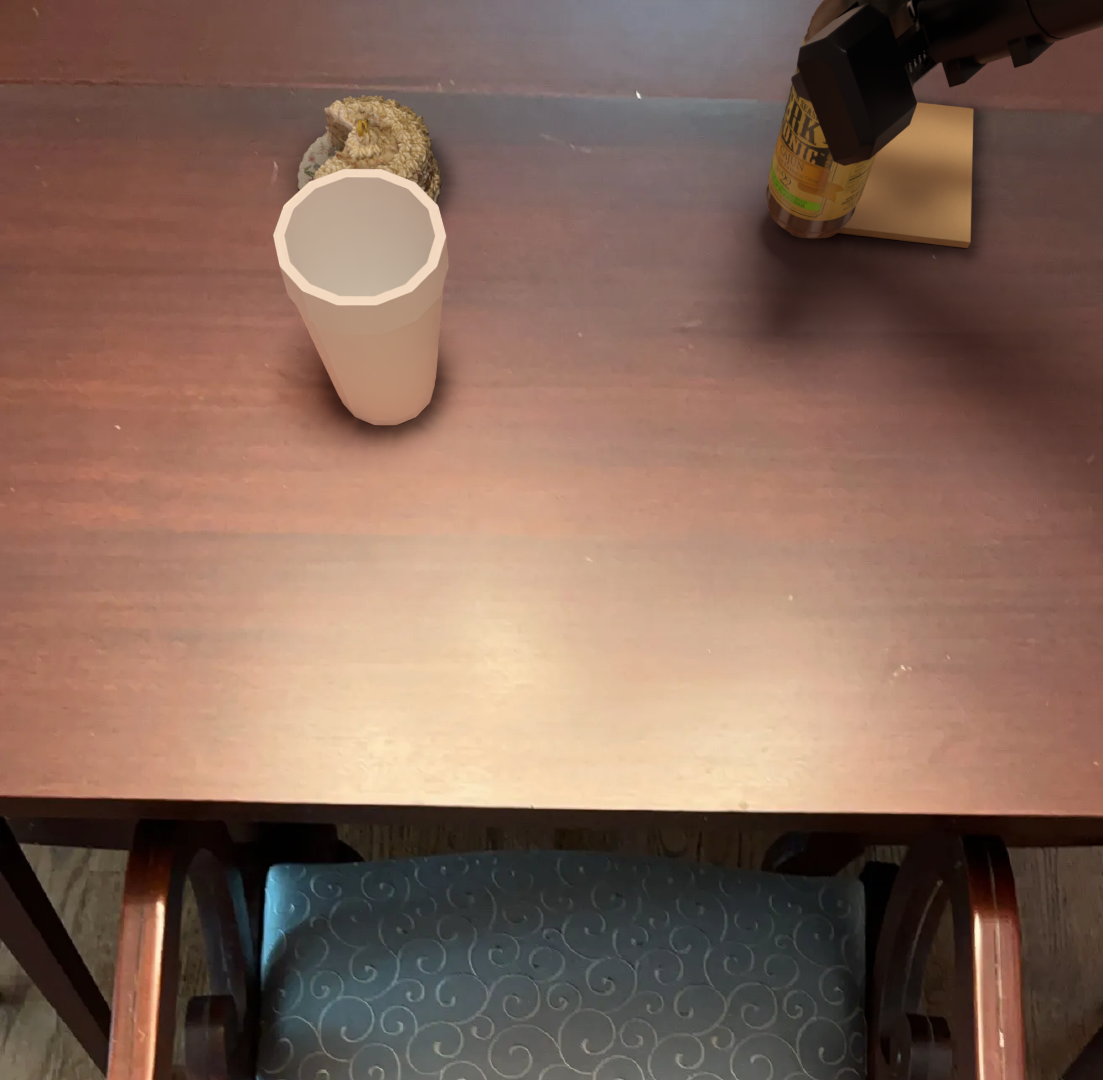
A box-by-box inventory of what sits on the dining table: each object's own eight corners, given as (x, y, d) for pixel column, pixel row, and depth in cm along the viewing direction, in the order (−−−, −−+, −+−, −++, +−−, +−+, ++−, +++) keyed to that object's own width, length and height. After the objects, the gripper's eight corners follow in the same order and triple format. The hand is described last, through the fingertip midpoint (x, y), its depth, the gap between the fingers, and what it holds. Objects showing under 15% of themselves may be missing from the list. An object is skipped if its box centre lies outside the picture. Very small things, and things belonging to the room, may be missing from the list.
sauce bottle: (745, 191, 79) (810, -118, 60) (824, 159, 80) (913, -155, 61) (793, 260, 77) (876, -36, 58) (874, 227, 78) (981, -76, 59)
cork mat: (805, 96, 85) (807, 88, 84) (970, 115, 85) (973, 108, 84) (795, 227, 81) (797, 221, 81) (967, 248, 81) (970, 241, 81)
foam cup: (482, 357, 78) (474, 205, 65) (419, 466, 75) (398, 330, 63) (355, 305, 79) (323, 146, 66) (288, 411, 76) (242, 266, 64)
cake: (441, 131, 84) (442, 66, 79) (441, 246, 81) (442, 186, 76) (300, 123, 83) (292, 55, 78) (295, 239, 80) (286, 177, 75)
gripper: (1137, -320, 54) (885, -176, 67) (879, -118, 50) (662, -6, 62) (1188, -61, 60) (947, 26, 73) (961, 140, 55) (747, 194, 68)
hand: (831, 55), depth 69 cm, fingers closed on sauce bottle, 6 cm apart
